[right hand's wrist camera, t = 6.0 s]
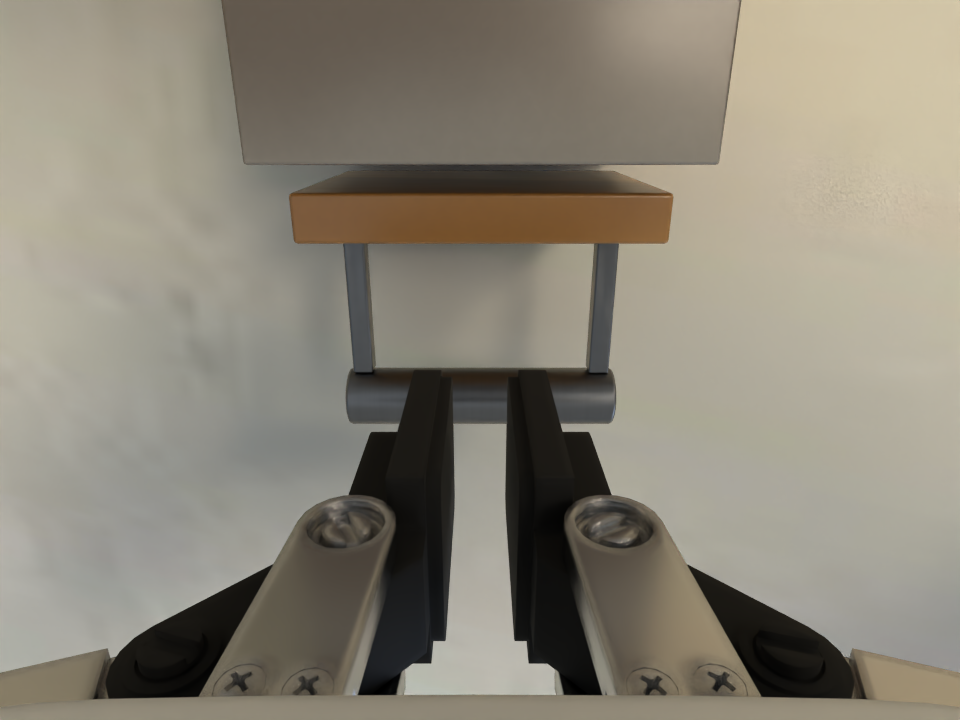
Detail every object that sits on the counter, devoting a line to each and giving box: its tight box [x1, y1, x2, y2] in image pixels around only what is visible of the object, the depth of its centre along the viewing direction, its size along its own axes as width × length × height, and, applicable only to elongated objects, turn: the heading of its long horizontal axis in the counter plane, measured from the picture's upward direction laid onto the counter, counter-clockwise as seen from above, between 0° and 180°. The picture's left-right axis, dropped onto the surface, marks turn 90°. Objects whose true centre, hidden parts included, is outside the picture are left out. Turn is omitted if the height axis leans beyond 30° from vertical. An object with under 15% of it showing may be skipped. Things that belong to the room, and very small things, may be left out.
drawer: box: [289, 171, 673, 424], centre depth 16 cm, size 23×9×7 cm, turn 0°
